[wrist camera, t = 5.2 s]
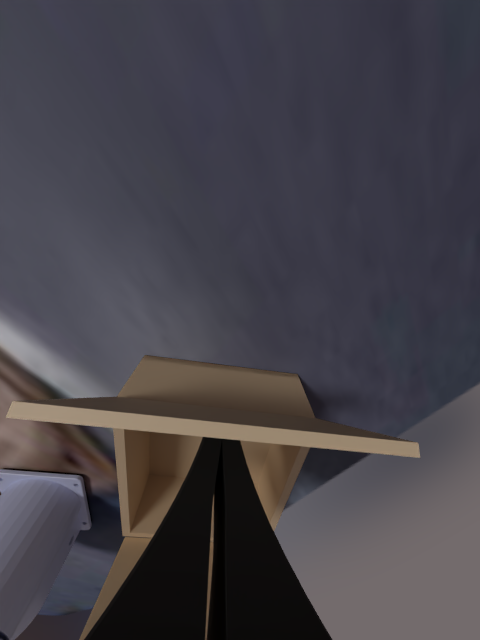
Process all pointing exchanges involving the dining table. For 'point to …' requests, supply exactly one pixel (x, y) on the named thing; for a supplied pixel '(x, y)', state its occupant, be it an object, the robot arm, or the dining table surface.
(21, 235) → the dining table surface
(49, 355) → the dining table surface
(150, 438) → the carton
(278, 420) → the near flap
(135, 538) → the far flap
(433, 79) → the dining table surface
